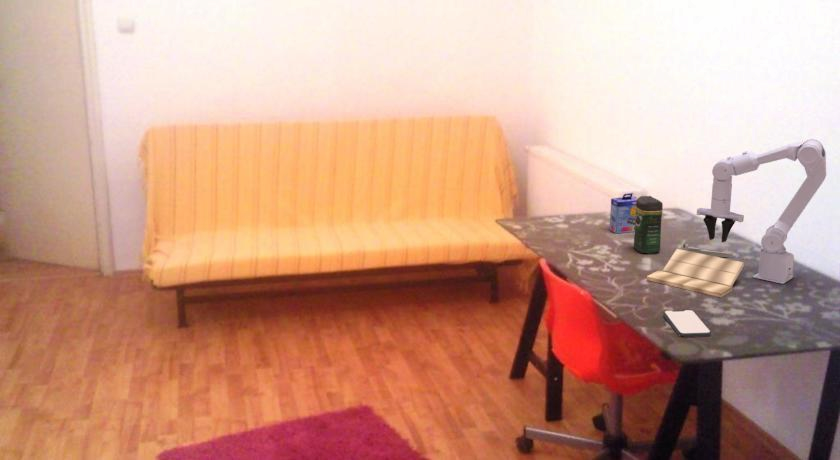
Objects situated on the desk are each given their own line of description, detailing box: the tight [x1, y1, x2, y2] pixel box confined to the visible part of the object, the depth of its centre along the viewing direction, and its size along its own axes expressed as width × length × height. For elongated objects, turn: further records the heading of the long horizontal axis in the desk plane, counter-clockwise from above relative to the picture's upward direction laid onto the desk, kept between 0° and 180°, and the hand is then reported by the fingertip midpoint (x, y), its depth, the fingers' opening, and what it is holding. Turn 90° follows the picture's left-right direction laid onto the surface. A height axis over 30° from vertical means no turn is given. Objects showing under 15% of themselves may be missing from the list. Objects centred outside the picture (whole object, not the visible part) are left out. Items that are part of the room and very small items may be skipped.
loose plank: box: [663, 248, 745, 286], centre depth 275 cm, size 22×10×1 cm
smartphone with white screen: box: [662, 309, 712, 338], centre depth 239 cm, size 9×2×16 cm
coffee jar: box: [633, 195, 664, 255], centre depth 301 cm, size 10×8×19 cm
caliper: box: [679, 243, 737, 259], centre depth 293 cm, size 20×1×6 cm, turn 103°
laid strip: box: [646, 269, 734, 298], centre depth 269 cm, size 24×8×1 cm, turn 47°
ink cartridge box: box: [609, 192, 639, 234], centre depth 325 cm, size 10×6×14 cm, turn 107°
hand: (717, 240), depth 280 cm, fingers open, 3 cm apart
